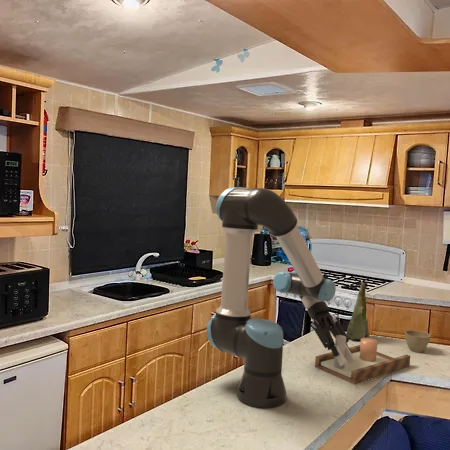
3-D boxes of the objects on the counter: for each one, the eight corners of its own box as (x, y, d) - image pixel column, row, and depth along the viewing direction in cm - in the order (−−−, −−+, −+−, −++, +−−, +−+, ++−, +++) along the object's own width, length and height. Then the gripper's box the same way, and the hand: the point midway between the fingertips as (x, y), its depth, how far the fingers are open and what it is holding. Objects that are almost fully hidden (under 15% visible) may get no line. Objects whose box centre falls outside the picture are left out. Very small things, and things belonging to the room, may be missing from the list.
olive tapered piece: (359, 333, 218) (362, 279, 216) (377, 341, 207) (381, 285, 205) (339, 335, 214) (342, 280, 212) (356, 344, 203) (360, 286, 201)
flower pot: (425, 356, 191) (427, 339, 190) (400, 350, 197) (401, 333, 196) (432, 350, 199) (433, 333, 198) (407, 344, 205) (408, 328, 204)
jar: (359, 360, 176) (361, 342, 175) (359, 354, 182) (360, 336, 181) (376, 362, 175) (378, 344, 174) (375, 356, 180) (377, 338, 180)
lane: (354, 384, 160) (355, 372, 160) (315, 366, 175) (315, 356, 174) (409, 366, 179) (410, 355, 179) (369, 351, 194) (370, 342, 193)
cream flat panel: (350, 377, 162) (352, 343, 161) (320, 365, 173) (322, 332, 172) (392, 364, 176) (395, 332, 175) (362, 353, 187) (364, 323, 186)
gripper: (325, 308, 185) (356, 363, 173) (294, 313, 175) (325, 372, 163) (336, 298, 180) (370, 353, 168) (305, 302, 171) (338, 362, 158)
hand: (347, 362), depth 166 cm, fingers closed on cream flat panel, 4 cm apart
